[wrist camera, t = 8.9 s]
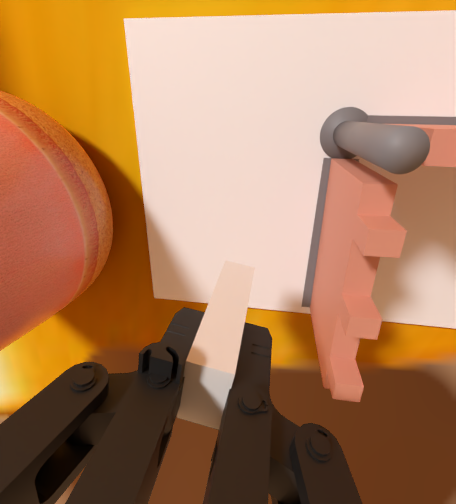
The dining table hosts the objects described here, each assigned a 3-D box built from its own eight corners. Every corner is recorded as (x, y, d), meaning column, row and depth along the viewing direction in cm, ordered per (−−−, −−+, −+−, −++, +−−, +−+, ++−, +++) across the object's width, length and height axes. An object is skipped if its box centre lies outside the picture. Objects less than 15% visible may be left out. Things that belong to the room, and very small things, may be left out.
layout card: (607, 9, 13) (618, 6, 13) (463, 326, 21) (467, 330, 21) (127, 20, 16) (123, 18, 16) (156, 295, 24) (153, 298, 23)
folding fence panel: (331, 158, 17) (376, 194, 9) (352, 158, 17) (416, 195, 9) (309, 308, 22) (328, 416, 14) (326, 310, 21) (354, 419, 14)
